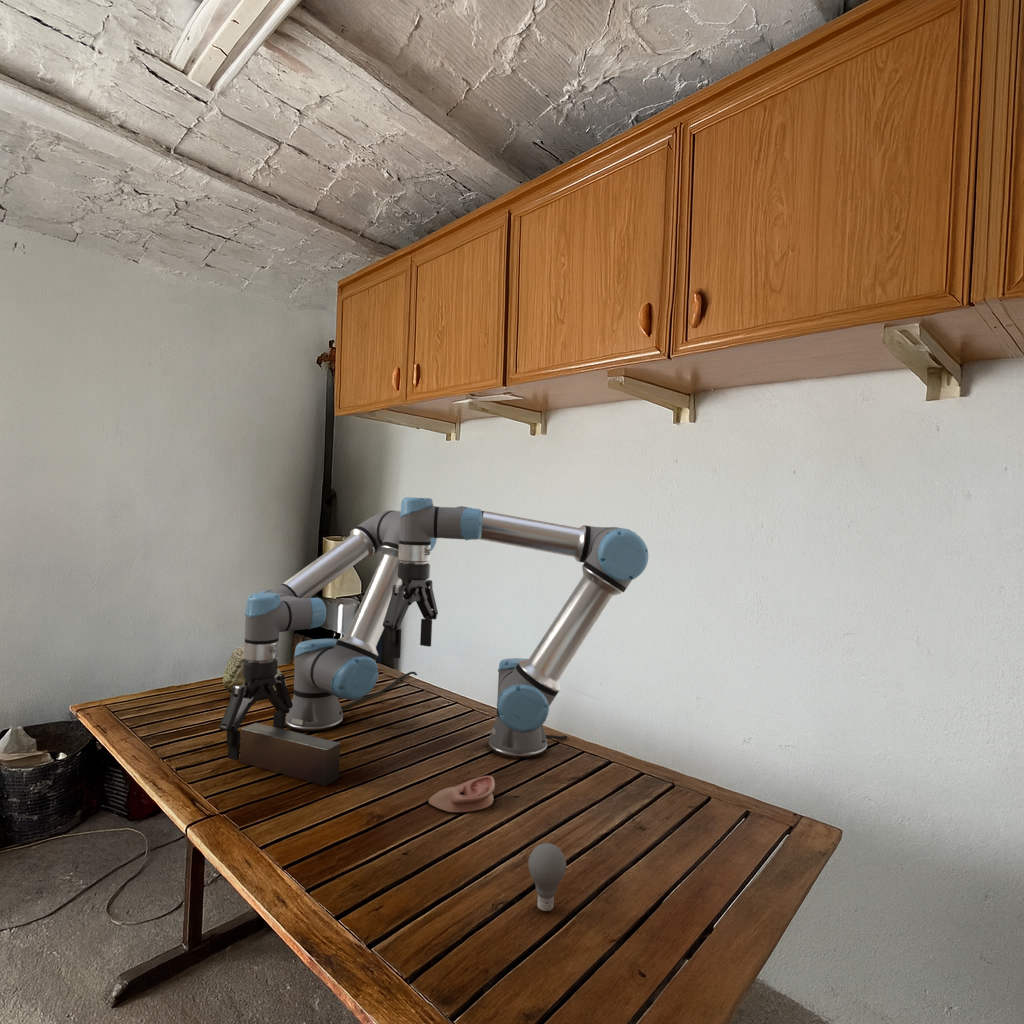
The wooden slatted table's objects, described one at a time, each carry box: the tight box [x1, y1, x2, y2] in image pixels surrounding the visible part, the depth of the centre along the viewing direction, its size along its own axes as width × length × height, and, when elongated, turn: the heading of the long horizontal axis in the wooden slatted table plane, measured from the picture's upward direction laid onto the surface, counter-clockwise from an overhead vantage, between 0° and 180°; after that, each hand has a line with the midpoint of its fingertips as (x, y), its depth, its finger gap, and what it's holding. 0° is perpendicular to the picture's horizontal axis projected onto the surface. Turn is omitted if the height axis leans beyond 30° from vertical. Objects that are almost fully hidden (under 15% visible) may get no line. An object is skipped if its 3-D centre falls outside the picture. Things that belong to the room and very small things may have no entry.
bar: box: [239, 722, 341, 787], centre depth 146 cm, size 25×5×8 cm, turn 66°
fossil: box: [222, 646, 288, 699], centre depth 198 cm, size 9×18×15 cm, turn 132°
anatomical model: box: [427, 775, 496, 813], centre depth 134 cm, size 13×4×12 cm
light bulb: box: [527, 842, 567, 912], centre depth 100 cm, size 6×6×10 cm
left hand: (256, 749), depth 149 cm, fingers open, 13 cm apart
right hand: (410, 651), depth 151 cm, fingers open, 13 cm apart
